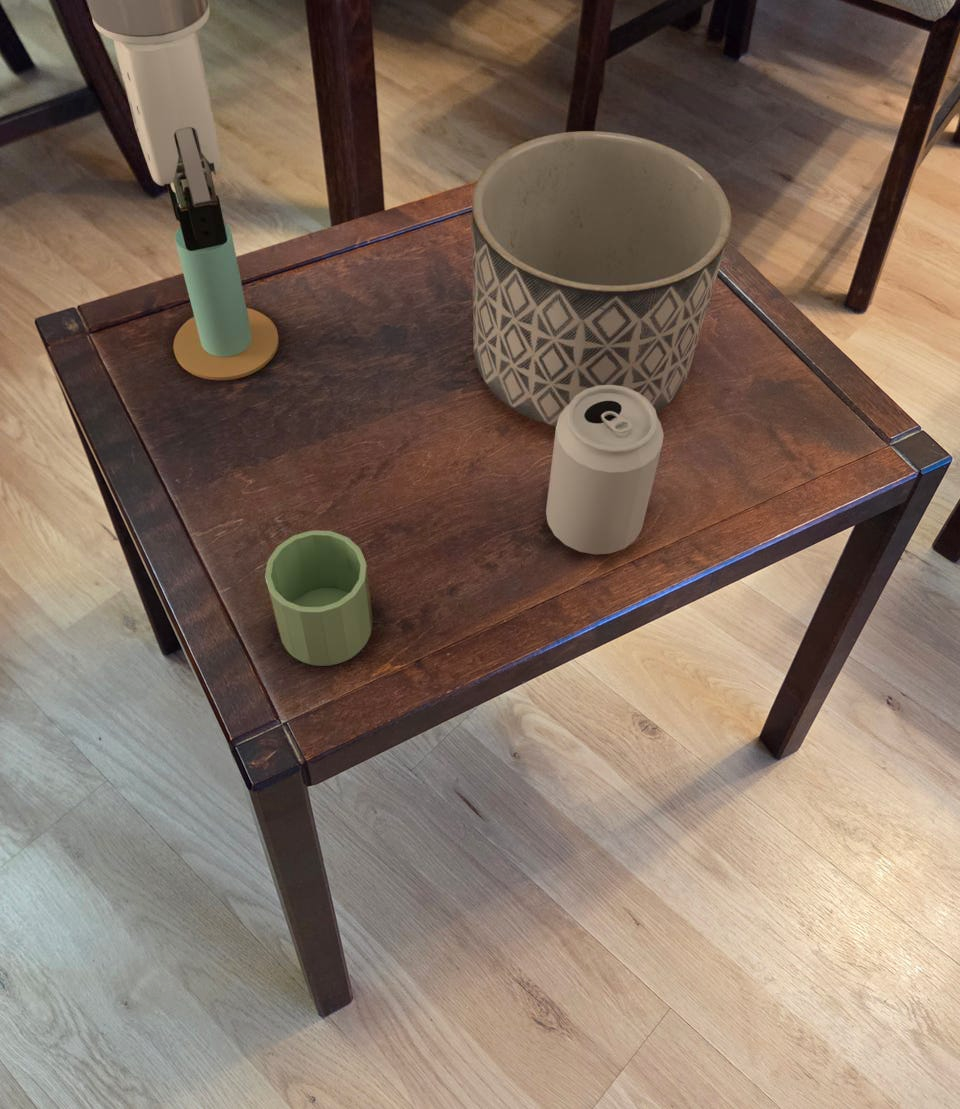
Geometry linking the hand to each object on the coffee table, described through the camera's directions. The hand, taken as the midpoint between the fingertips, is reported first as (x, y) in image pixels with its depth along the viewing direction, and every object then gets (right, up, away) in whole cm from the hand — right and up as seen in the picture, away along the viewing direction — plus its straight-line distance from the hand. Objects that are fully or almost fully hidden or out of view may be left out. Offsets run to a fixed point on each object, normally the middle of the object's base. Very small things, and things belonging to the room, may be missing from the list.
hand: (201, 228), depth 83 cm
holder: (+11, -31, -7) cm, 33 cm away
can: (+31, -23, -1) cm, 38 cm away
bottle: (0, -7, +9) cm, 12 cm away
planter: (+30, -9, +9) cm, 33 cm away
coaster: (0, -7, +10) cm, 12 cm away
